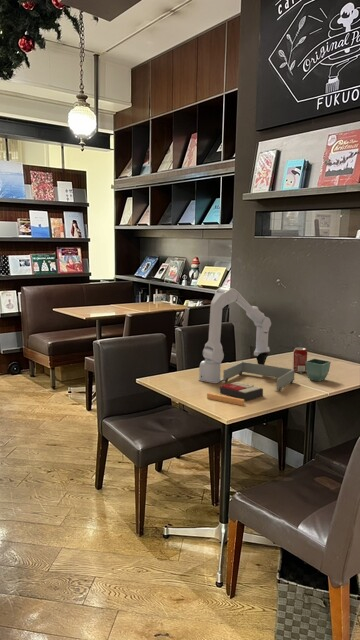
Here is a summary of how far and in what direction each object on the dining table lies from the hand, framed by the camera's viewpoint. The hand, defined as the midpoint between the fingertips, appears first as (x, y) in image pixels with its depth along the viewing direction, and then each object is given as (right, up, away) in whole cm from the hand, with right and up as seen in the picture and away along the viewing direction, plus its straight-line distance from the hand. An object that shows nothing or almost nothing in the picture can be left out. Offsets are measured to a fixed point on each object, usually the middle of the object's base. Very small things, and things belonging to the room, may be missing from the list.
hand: (261, 367), depth 227 cm
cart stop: (-22, -9, -41) cm, 48 cm away
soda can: (+21, -3, +6) cm, 22 cm away
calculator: (-14, -9, -32) cm, 36 cm away
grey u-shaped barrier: (-4, -5, -14) cm, 16 cm away
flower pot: (+25, -5, -8) cm, 27 cm away
